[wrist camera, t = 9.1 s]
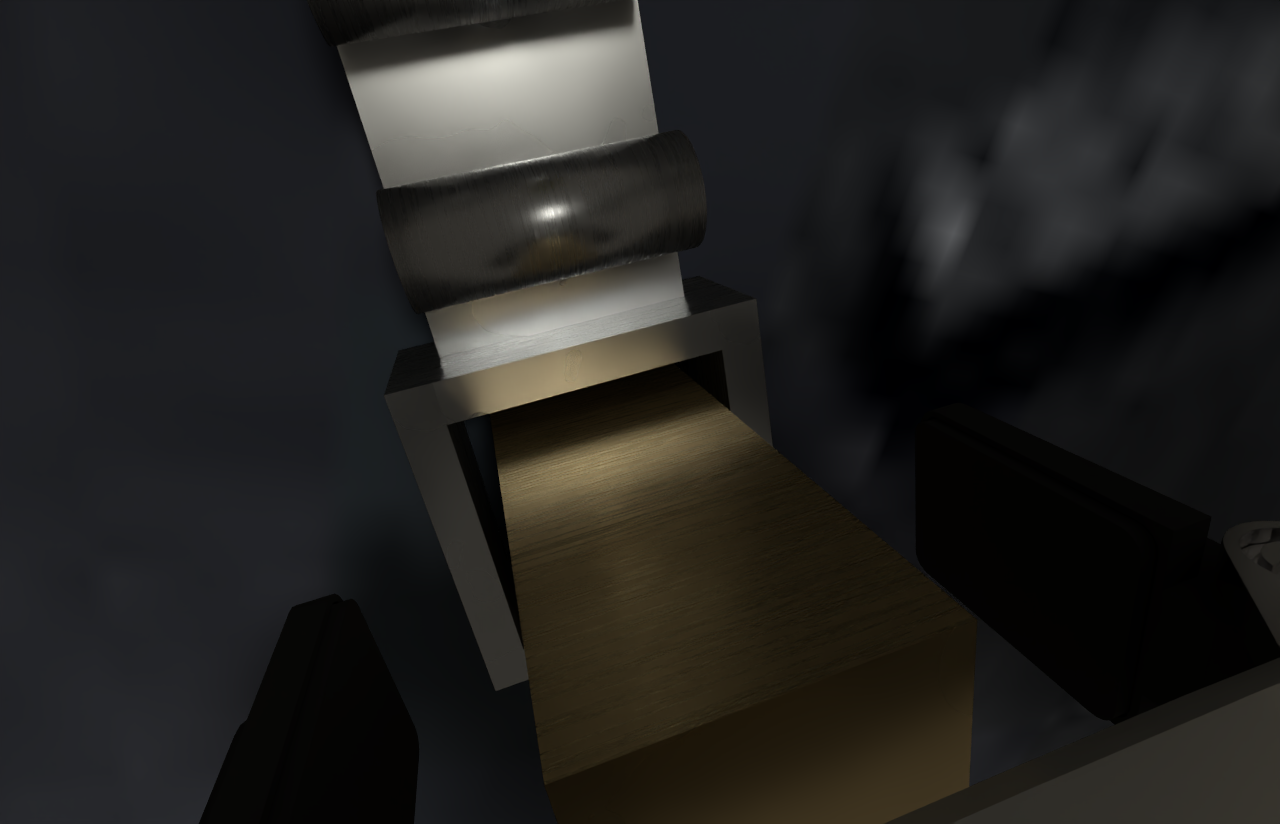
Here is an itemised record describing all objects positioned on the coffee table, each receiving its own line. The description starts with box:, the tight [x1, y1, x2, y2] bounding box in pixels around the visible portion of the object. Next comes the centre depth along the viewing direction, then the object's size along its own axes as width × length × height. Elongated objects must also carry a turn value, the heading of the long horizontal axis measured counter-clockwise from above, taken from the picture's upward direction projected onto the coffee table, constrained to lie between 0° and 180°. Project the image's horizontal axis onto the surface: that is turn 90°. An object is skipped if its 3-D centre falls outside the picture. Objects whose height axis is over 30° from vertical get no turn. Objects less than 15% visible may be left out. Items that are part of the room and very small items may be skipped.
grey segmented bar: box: [307, 0, 773, 691], centre depth 13 cm, size 7×22×4 cm, turn 11°
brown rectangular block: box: [490, 363, 977, 824], centre depth 11 cm, size 4×4×10 cm
